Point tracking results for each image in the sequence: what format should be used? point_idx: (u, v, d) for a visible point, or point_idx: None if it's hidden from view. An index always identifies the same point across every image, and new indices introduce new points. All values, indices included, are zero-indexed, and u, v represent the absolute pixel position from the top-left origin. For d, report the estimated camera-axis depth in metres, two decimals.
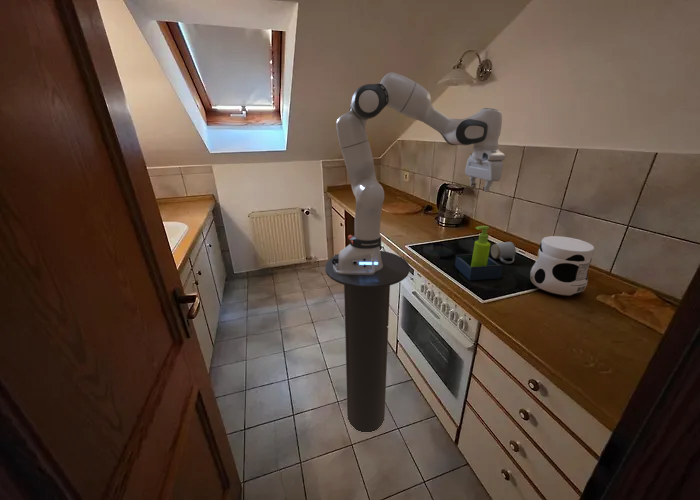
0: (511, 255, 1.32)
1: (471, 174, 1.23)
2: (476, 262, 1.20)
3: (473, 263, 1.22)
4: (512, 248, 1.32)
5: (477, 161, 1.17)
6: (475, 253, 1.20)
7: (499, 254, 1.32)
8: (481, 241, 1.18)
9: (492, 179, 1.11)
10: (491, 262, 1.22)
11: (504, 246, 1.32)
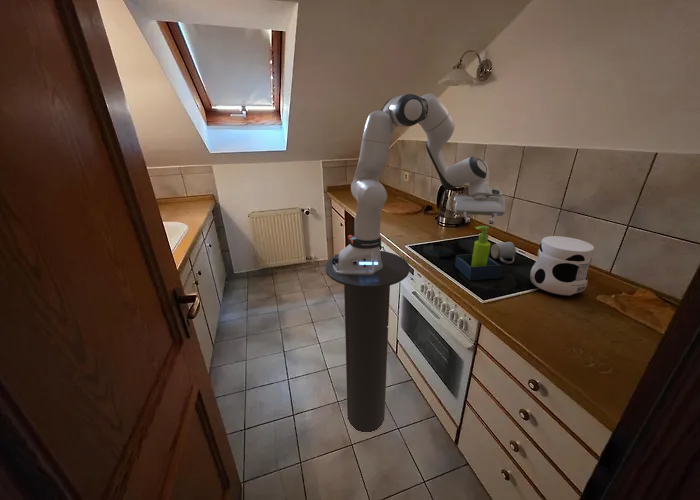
0: (511, 255, 1.32)
1: (469, 209, 1.26)
2: (476, 262, 1.20)
3: (473, 263, 1.22)
4: (512, 248, 1.32)
5: (482, 196, 1.26)
6: (475, 253, 1.20)
7: (499, 254, 1.32)
8: (481, 241, 1.18)
9: (505, 211, 1.24)
10: (491, 262, 1.22)
11: (504, 246, 1.32)
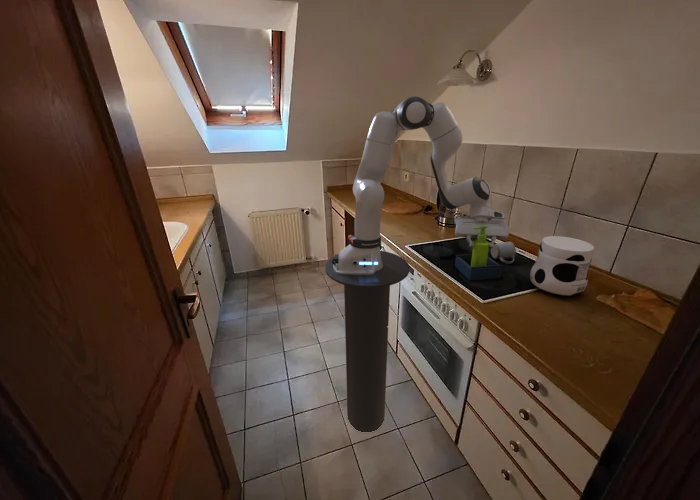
0: (511, 255, 1.32)
1: (470, 232, 1.20)
2: (475, 262, 1.20)
3: (473, 263, 1.22)
4: (512, 248, 1.32)
5: (484, 219, 1.20)
6: (474, 253, 1.20)
7: (499, 254, 1.32)
8: (479, 241, 1.18)
9: (508, 234, 1.18)
10: (491, 262, 1.22)
11: (504, 246, 1.32)
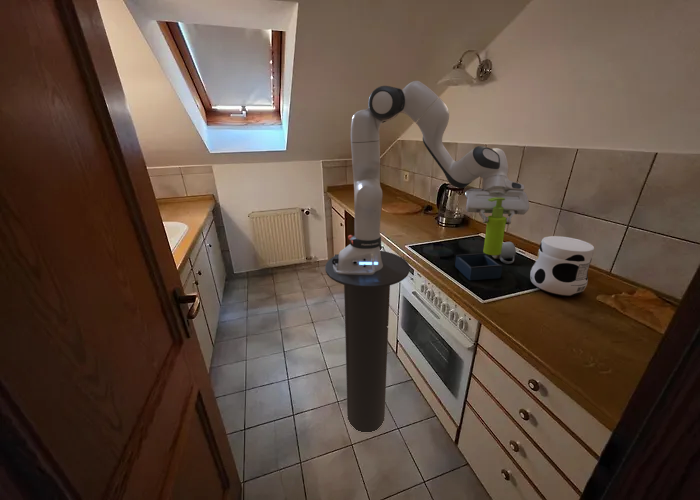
0: (511, 255, 1.32)
1: (484, 206, 1.04)
2: (490, 240, 1.04)
3: (487, 242, 1.06)
4: (512, 248, 1.32)
5: (500, 190, 1.04)
6: (489, 230, 1.04)
7: None
8: (495, 215, 1.02)
9: (528, 208, 1.02)
10: (491, 262, 1.22)
11: (504, 246, 1.32)
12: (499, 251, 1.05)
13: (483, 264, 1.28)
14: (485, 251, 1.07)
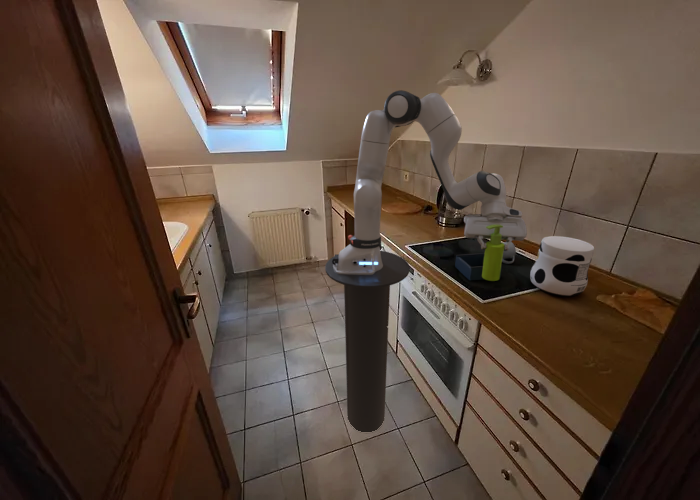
0: (511, 255, 1.32)
1: (482, 232, 1.05)
2: (488, 266, 1.05)
3: (485, 267, 1.07)
4: (512, 248, 1.32)
5: (498, 217, 1.05)
6: (487, 256, 1.05)
7: None
8: (493, 242, 1.03)
9: (526, 235, 1.03)
10: None
11: None
12: (497, 277, 1.06)
13: None
14: (483, 276, 1.08)
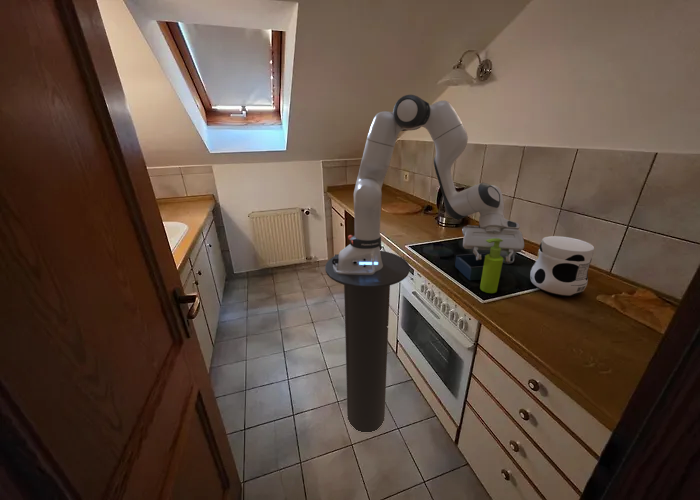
0: (511, 255, 1.32)
1: (481, 244, 1.07)
2: (487, 279, 1.07)
3: (483, 280, 1.08)
4: None
5: (496, 229, 1.07)
6: (486, 269, 1.06)
7: None
8: (492, 256, 1.04)
9: (523, 247, 1.04)
10: None
11: None
12: (495, 289, 1.08)
13: (483, 264, 1.28)
14: (481, 288, 1.10)
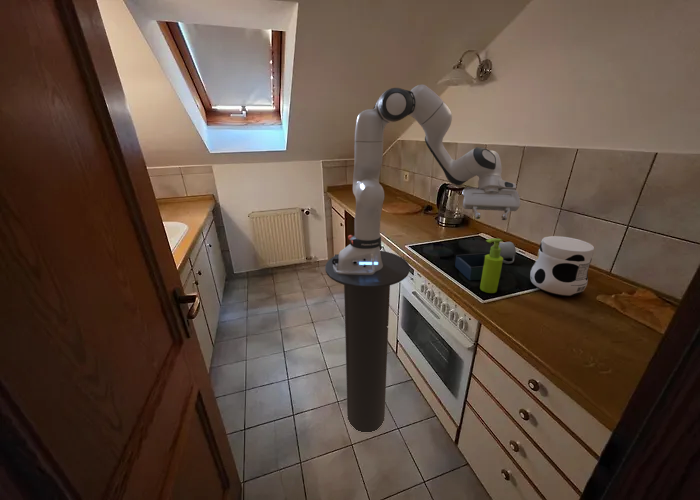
0: (511, 255, 1.32)
1: (480, 203, 1.14)
2: (487, 279, 1.07)
3: (483, 280, 1.08)
4: (512, 248, 1.32)
5: (494, 189, 1.14)
6: (486, 269, 1.06)
7: None
8: (492, 256, 1.04)
9: (519, 205, 1.12)
10: None
11: (504, 246, 1.32)
12: (495, 289, 1.08)
13: (483, 264, 1.28)
14: (481, 288, 1.10)
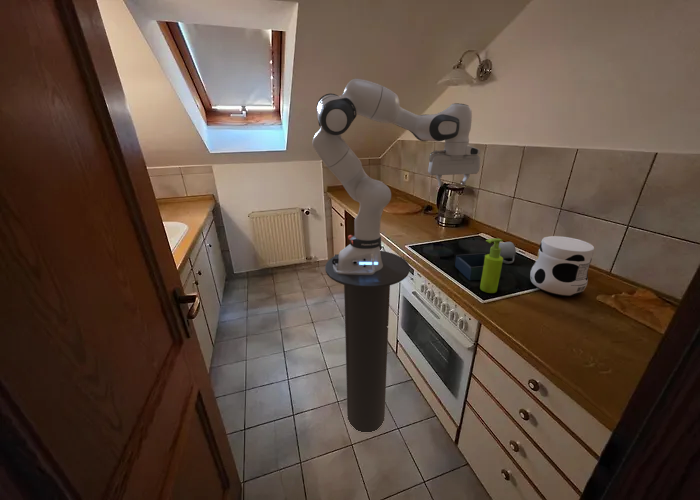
0: (511, 255, 1.32)
1: (445, 172, 1.17)
2: (487, 279, 1.07)
3: (483, 280, 1.08)
4: (512, 248, 1.32)
5: (460, 157, 1.14)
6: (486, 269, 1.06)
7: None
8: (492, 256, 1.04)
9: (478, 171, 1.19)
10: None
11: (504, 246, 1.32)
12: (495, 289, 1.08)
13: (483, 264, 1.28)
14: (481, 288, 1.10)
